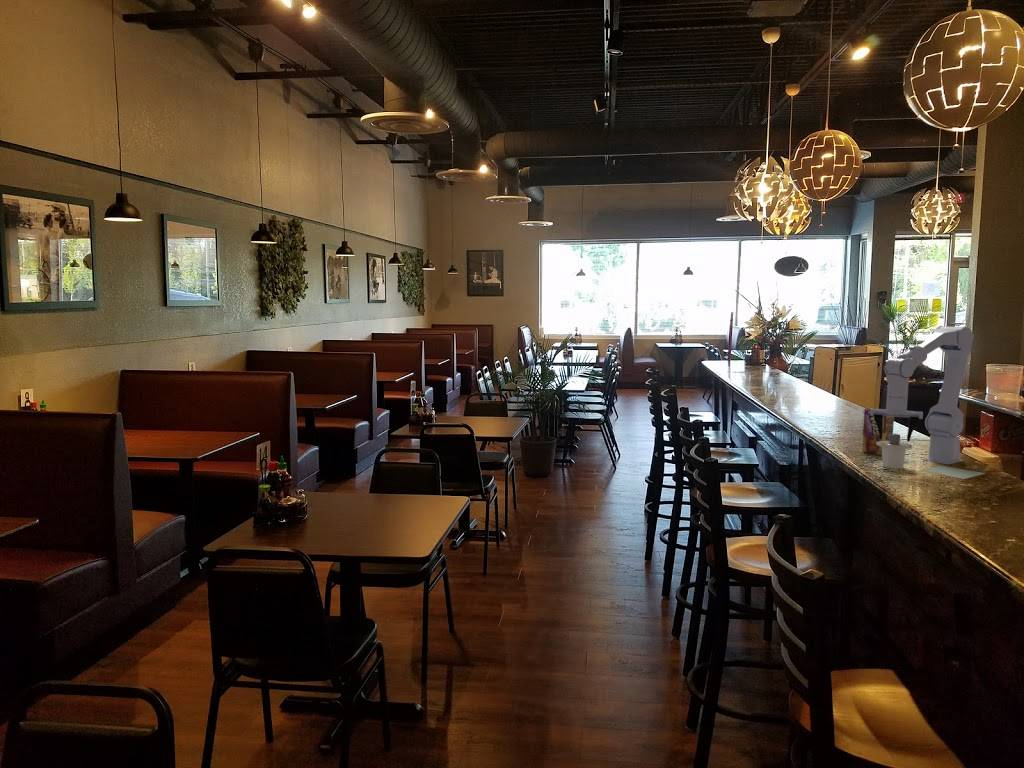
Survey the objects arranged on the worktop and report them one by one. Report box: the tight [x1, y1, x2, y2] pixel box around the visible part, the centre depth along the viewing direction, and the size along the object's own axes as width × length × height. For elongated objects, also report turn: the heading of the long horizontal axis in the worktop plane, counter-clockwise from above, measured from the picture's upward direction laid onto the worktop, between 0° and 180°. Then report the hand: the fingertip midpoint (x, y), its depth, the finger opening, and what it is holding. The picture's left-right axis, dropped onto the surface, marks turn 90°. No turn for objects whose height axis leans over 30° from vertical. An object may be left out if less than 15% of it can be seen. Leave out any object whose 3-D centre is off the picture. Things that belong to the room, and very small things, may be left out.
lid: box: [876, 433, 913, 450], centre depth 231 cm, size 10×10×4 cm
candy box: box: [861, 407, 895, 456], centre depth 253 cm, size 9×4×15 cm, turn 26°
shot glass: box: [881, 447, 907, 470], centre depth 232 cm, size 7×7×7 cm
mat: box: [919, 464, 986, 480], centre depth 225 cm, size 13×13×1 cm
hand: (894, 439), depth 231 cm, fingers open, 7 cm apart
